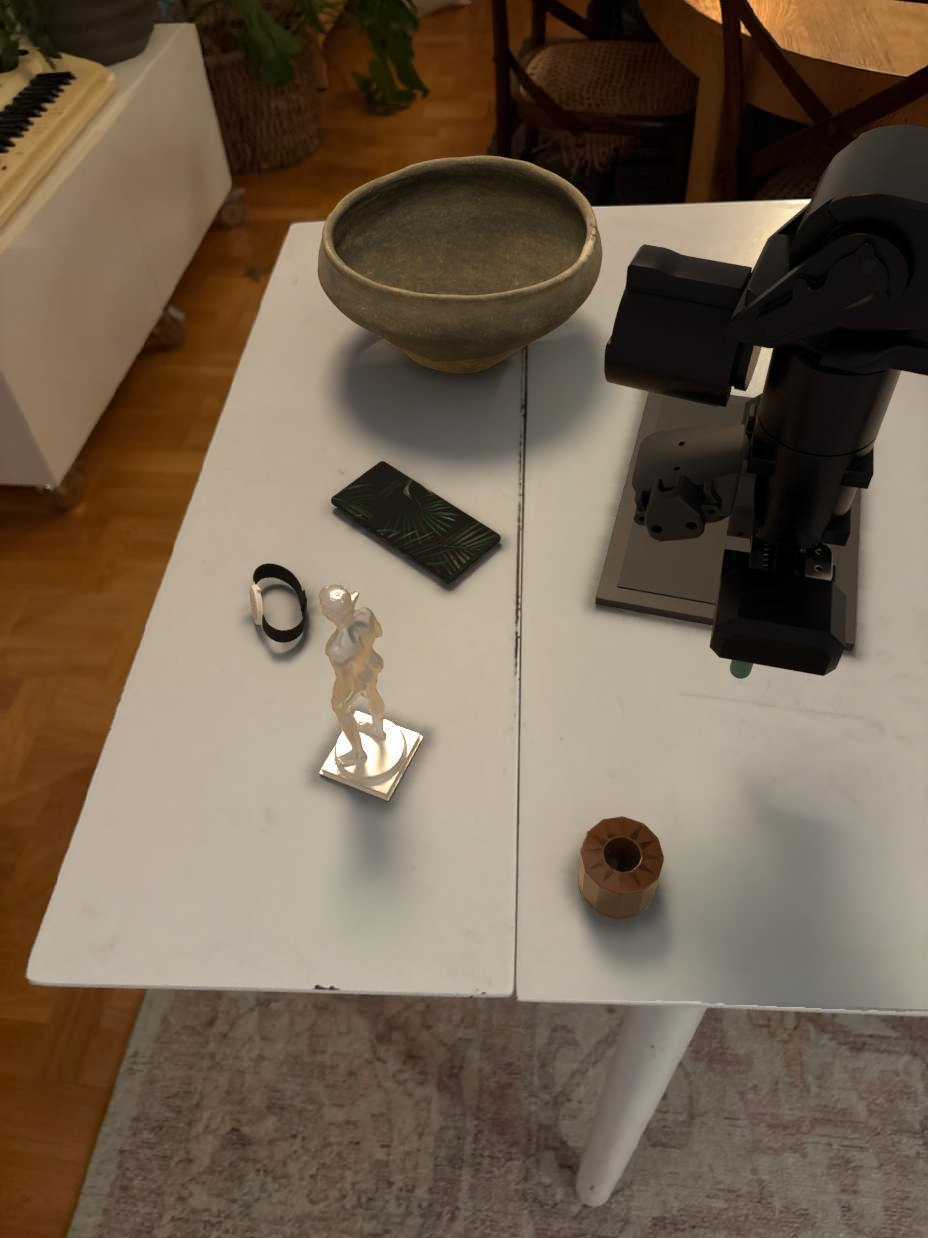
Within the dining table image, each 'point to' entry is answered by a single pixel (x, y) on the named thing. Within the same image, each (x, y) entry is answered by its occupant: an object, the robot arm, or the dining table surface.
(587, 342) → the dining table surface
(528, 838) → the dining table surface
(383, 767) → the figurine
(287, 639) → the watch
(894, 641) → the dining table surface
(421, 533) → the smartphone
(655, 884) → the pen stand
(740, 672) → the stylus
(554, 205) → the bowl
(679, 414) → the tablet
